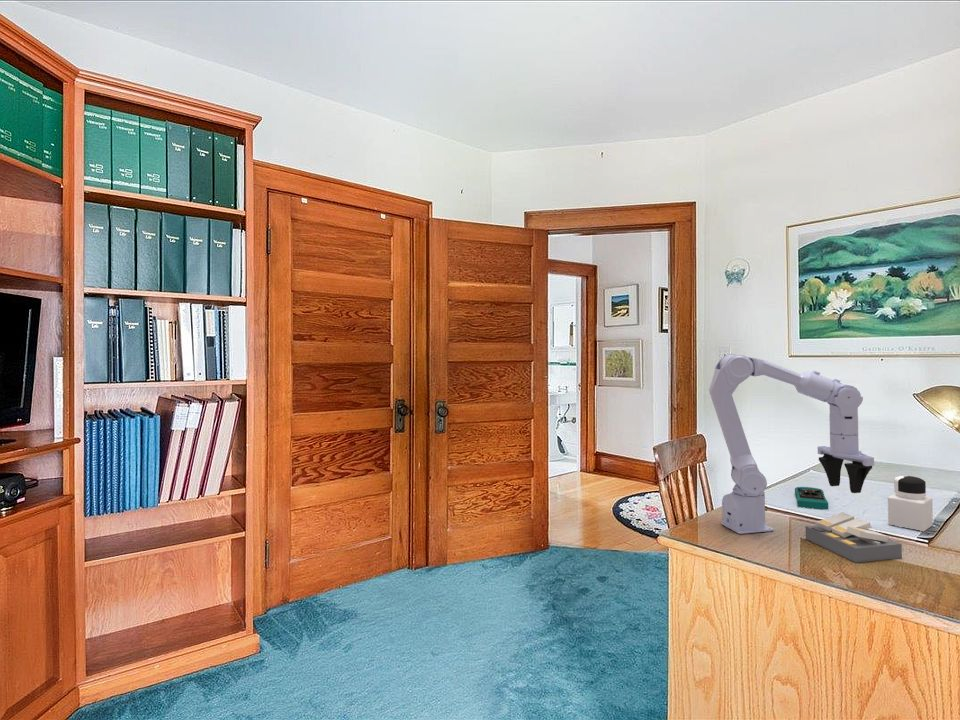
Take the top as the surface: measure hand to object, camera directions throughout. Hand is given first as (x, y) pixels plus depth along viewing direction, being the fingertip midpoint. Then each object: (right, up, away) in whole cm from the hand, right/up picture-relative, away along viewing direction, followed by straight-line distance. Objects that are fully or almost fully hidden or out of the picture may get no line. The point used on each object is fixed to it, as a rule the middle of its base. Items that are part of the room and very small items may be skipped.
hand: (844, 489), depth 128 cm
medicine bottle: (+18, -10, +3) cm, 21 cm away
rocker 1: (-6, -6, -6) cm, 10 cm away
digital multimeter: (+7, -10, +24) cm, 27 cm away
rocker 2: (-5, -6, -10) cm, 13 cm away
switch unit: (-5, -11, -10) cm, 15 cm away
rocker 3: (-5, -6, -14) cm, 16 cm away
